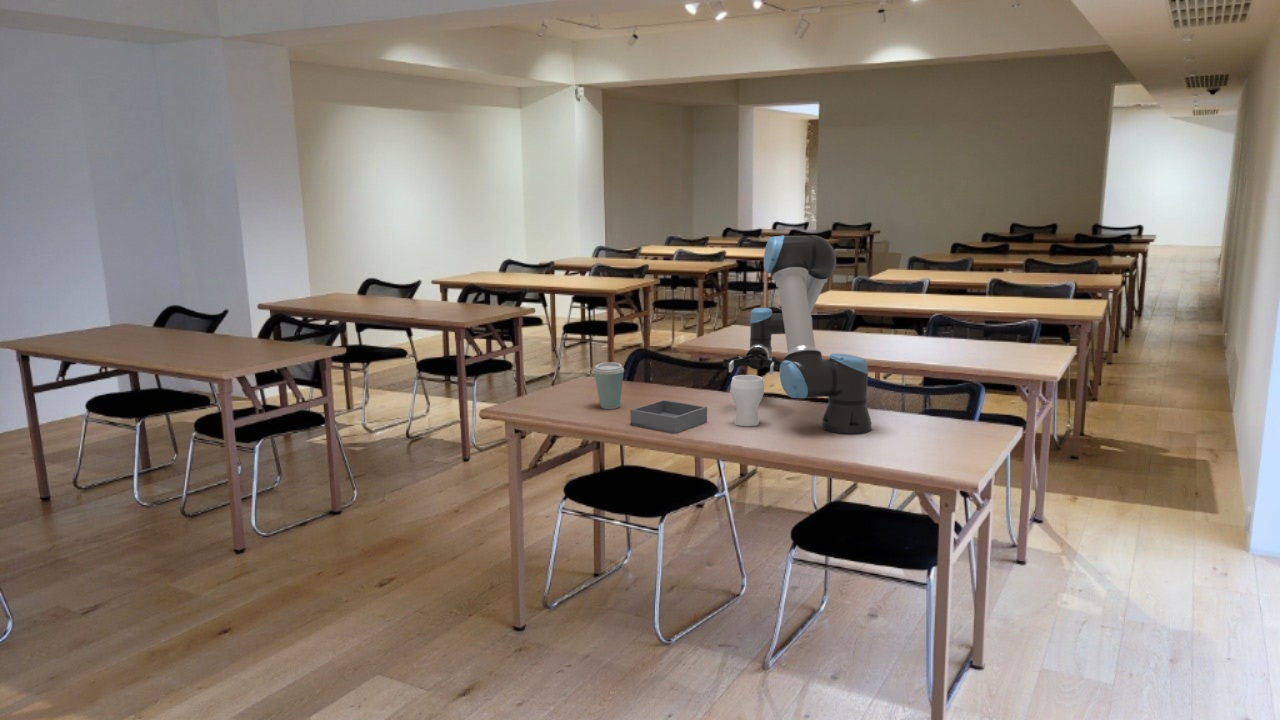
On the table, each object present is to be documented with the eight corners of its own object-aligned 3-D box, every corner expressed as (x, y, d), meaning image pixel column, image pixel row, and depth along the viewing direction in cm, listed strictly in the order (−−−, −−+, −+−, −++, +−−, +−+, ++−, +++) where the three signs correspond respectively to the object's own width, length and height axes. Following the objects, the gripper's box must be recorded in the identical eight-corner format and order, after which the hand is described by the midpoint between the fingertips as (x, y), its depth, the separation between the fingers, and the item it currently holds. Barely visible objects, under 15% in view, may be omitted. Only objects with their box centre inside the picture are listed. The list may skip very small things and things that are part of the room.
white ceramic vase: (765, 427, 289) (766, 381, 287) (732, 428, 289) (732, 381, 287) (761, 419, 300) (761, 374, 297) (728, 419, 300) (729, 374, 297)
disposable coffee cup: (624, 410, 312) (623, 367, 310) (592, 410, 313) (592, 367, 310) (625, 403, 323) (624, 361, 320) (594, 403, 323) (594, 361, 320)
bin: (707, 422, 297) (707, 407, 296) (674, 433, 283) (675, 417, 282) (663, 414, 307) (663, 399, 306) (630, 424, 294) (630, 409, 293)
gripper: (792, 368, 320) (788, 382, 300) (721, 365, 325) (712, 378, 305) (793, 347, 318) (789, 359, 298) (722, 344, 324) (713, 356, 304)
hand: (750, 369), depth 302 cm, fingers open, 13 cm apart
